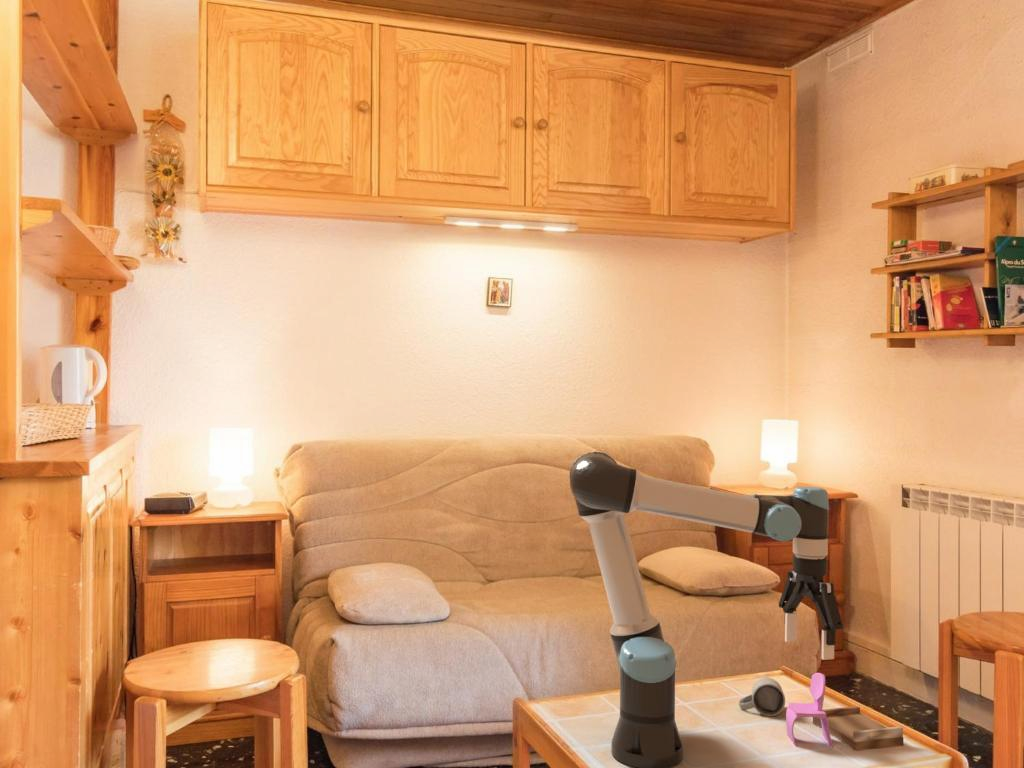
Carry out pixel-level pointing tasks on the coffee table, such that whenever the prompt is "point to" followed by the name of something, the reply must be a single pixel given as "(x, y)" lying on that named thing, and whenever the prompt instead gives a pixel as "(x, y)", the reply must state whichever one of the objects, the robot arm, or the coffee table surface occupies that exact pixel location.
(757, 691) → the ceramic mug
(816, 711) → the toy chair
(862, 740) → the shelf board
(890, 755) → the coffee table surface
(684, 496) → the robot arm
